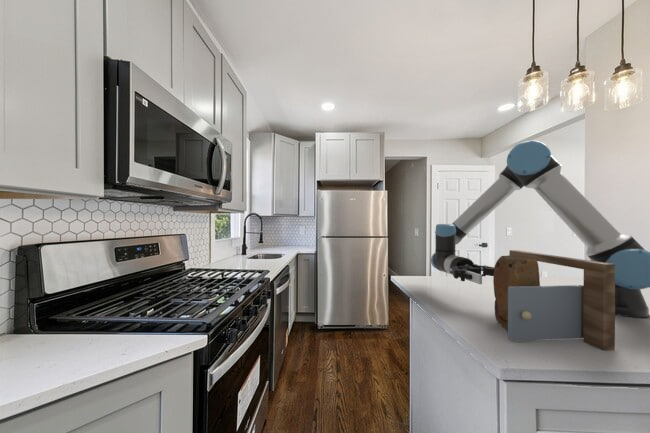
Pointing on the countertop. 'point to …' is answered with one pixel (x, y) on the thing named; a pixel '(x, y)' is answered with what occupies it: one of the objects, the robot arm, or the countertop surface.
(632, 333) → the countertop surface
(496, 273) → the brown elongated rounded part
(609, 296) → the door frame
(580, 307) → the door
